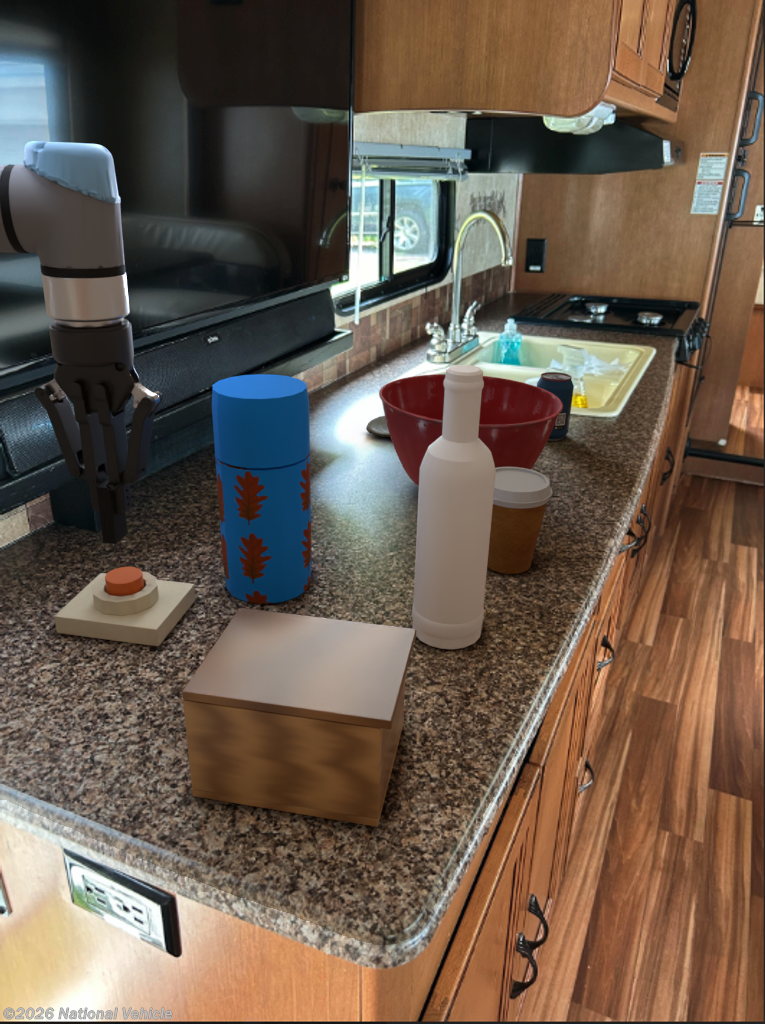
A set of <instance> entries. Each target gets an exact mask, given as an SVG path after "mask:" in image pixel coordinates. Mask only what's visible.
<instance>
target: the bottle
mask: <svg viewBox="0 0 765 1024" xmlns="http://www.w3.org/2000/svg"><path fill="white" fill-rule="evenodd" d="M445 374H446V377H445V379H444V384H443V385H444V388H445V394H444V411H443V428H442V436H440V437H439V438H438V439H437V440H436V441H434V442H433V443H432V444H431V445H429V447H428V449H427V451H426V453H425V456H424V458H423V461H422V463H421V466H420V473H419V486H418V496H417V497H418V498H417V516H416V517H417V518H416V519H417V520H416V539H415V560H414V562H415V563H414V580H413V581H414V583H413V601H412V602H413V604H412V607H411V618H412V623H411V629H416V639H418V640H419V641H420V642H422V643H424V644H426V645H428V646H430V647H433V648H437V649H441V650H459V649H465V648H467V647H469V646H471V645H474V644H475V643H476V642H477V641H478V640H479V639H480V638H481V634H482V628H483V623H484V616H485V608H484V607H485V594H486V585H487V584H486V583H487V573H488V567H487V563H488V552H489V541H490V530H491V519H492V508H493V497H494V486H495V475H496V469H495V465H494V461H493V457H492V454H491V451H490V450H489V449H488V447H487V446H486V445H485V444H484V443H483V442H482V441H481V440H480V439H479V438H478V431H479V419H480V406H481V393H482V389H483V387H484V381H483V376H484V371H483V370H482V369H481V368H480V367H479V366H476V365H470V364H454V365H450V366H449V367H447V368H446V369H445Z"/></svg>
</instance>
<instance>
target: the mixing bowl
mask: <svg viewBox="0 0 765 1024" xmlns="http://www.w3.org/2000/svg"><path fill="white" fill-rule="evenodd" d="M445 377H446V373H437V374H436V373H435V374H423V375H414V376H407V377H403V378H399V379H396V380H393V381H390V382H388V383H386V384H384V385H383V386H381V388H380V389H379V391H378V396H379V399H380V400H381V404H382V409H383V414H384V416H385V419H386V423H387V427H388V430H389V434H390V437H389V438H390V440H391V443H392V446H393V448H394V452H395V453H396V456H397V458H398V460H399V462H400V464H401V466H402V468H403V470H404V471H405V473H406V475H407V476H408V478H409V479H410V480H411V481H412V482H413V483H414V484H415V485H417V486H418V487H419V473H420V466H421V463H422V461H423V458H424V456H425V453H426V451H427V449H428V447H429V445H431V444H432V443H433V442H434V441H436V440H437V439H438V438H439V437H440V436H442V428H443V411H444V394H445V388H444V385H443V384H444V379H445ZM483 381H484V387H483V389H482V393H481V406H480V419H479V431H478V438H479V439H480V440H481V441H482V442H483V443H484V444H485V445H486V446H487V447H488V449H489V450H490V451H491V454H492V457H493V461H494V465H495V468H498V467H519V468H526V469H530V470H532V468H533V467H534V465H535V464H536V463H537V461H538V459H539V457H540V456H541V454H542V452H543V451H544V449H545V447H546V445H547V443H548V438H549V436H550V434H551V432H552V429H553V427H554V424H555V422H556V419H557V417H558V414H559V413H560V412H561V411H562V409H563V404H562V402H561V400H560V399H559V398H558V397H557V396H555V395H554V394H552V393H551V392H549V391H546V390H544V389H542V388H539V387H537V385H533V384H530V383H526V382H522V381H518V380H514V379H509V378H503V377H497V376H487V375H483Z"/></svg>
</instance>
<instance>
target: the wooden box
mask: <svg viewBox="0 0 765 1024" xmlns="http://www.w3.org/2000/svg"><path fill="white" fill-rule="evenodd" d="M405 695H406V679H405V680H404V684H403V687H402V691H401V695H400V699H399V702H398V706H397V710H396V714H395V717H394V721H393V725H392V728H391V729H384V728H377V727H370V726H363V725H356V724H349V723H342V722H335V721H328V720H321V719H314V718H307V717H300V716H293V715H287V714H280V713H273V712H266V711H259V710H252V709H245V708H238V707H231V706H224V705H217V704H210V703H203V702H196V701H190V700H183V699H182V705H183V715H184V724H185V734H186V745H187V753H188V761H189V762H188V763H189V773H190V780H191V793H192V797H195V798H203V799H206V800H213V801H218V802H224V803H225V802H226V803H231V804H237V805H242V806H249V807H256V808H260V809H267V810H273V811H280V812H285V813H291V814H297V815H304V816H309V817H317V818H321V819H328V820H332V821H333V820H334V821H339V822H345V823H352V824H358V825H364V826H368V827H370V826H371V827H375V828H378V827H379V824H380V820H381V816H382V811H383V808H384V804H385V799H386V796H387V792H388V788H389V785H390V781H391V776H392V772H393V768H394V763H395V760H396V756H397V751H398V748H399V744H400V740H401V735H402V732H403V727H404V721H405V718H404V717H405V698H406V697H405Z"/></svg>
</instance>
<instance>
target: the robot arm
mask: <svg viewBox="0 0 765 1024" xmlns="http://www.w3.org/2000/svg"><path fill="white" fill-rule="evenodd" d="M23 151H24V158H23V159H22V162H23V163H16V164H11V163H10V164H0V253H4V254H5V253H7V254H8V253H11V254H12V253H15V254H16V253H17V254H19V253H20V254H37V256H38V260H39V262H40V273H41V280H42V289H43V296H44V304H45V312H46V316H48V317H49V318H50V319H52V321H51V322H50V324H49V326H48V330H49V338H50V345H51V353H52V357H53V359H54V360H55V362H56V366H55V369H54V373H53V379H51V380H50V381H49V382H47V383H44V384H41V385H40V386H37V387H35V388H34V395H35V397H36V398H37V400H38V401H39V402H40V404H41V405H42V406H43V408H44V409H45V411H46V413H47V416H48V419H49V422H50V424H51V427H52V430H53V432H54V435H55V438H56V440H57V443H58V446H59V448H60V451H61V454H62V457H63V459H64V462H65V465H66V468H67V470H68V473H69V476H71V477H72V478H77V479H78V478H79V479H83V480H85V482H86V483H87V484H88V486H89V487H88V488H89V494H90V501H91V507H92V509H93V511H94V512H98V514H99V523H100V528H101V529H100V530H101V537H102V543H103V544H111V545H117V544H118V543H119V542H121V540H122V539H124V538H125V537H127V535H128V534H129V530H128V529H129V528H128V521H127V514H126V513H128V512H129V511H130V510H131V508H132V494H131V485H132V484H134V483H136V482H137V481H138V480H139V479H141V478H143V476H145V475H146V473H147V468H148V461H149V455H150V447H151V441H152V435H153V427H154V422H155V415H156V412H157V410H158V409H159V407H160V405H161V403H162V402H163V399H164V396H163V393H162V392H161V391H158V390H155V391H151V390H150V389H148V388H147V387H145V386H144V385H143V384H142V383H141V382H140V376H139V374H138V372H137V371H136V369H135V365H134V357H135V351H134V339H133V328H132V323H131V322H130V321H129V320H128V319H127V318H126V317H128V315H129V314H130V312H131V311H130V303H129V300H130V299H129V292H128V279H127V271H126V264H125V252H124V251H125V250H124V240H123V239H124V238H123V226H122V213H121V211H122V210H121V202H122V201H121V199H122V198H121V196H120V195H119V190H118V189H119V188H118V182H117V176H116V169H115V163H114V158H113V155H112V152H110V150H108V148H106V147H105V146H103V145H101V144H97V143H84V142H67V141H65V142H63V141H35V140H34V141H33V140H32V141H28V142H27V143H26V144H25V145H24V149H23ZM132 397H133V401H132V407H133V409H135V410H134V412H133V415H132V419H131V425H130V433H129V440H128V436H127V427H126V426H127V425H126V418H127V405H128V403H129V401H130V400H131V398H132ZM70 402H71V403H72V405H71V403H70ZM72 406H73V408H72ZM130 484H131V485H130Z"/></svg>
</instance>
